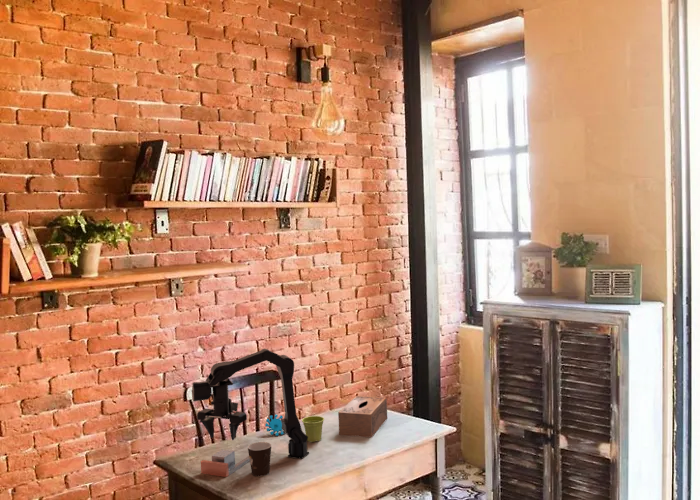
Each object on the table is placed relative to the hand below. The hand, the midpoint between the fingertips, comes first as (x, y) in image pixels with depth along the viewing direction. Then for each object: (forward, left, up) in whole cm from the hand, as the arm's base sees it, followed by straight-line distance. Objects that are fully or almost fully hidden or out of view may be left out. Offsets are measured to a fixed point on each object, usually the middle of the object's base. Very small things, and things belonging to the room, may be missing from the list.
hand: (222, 438), depth 246 cm
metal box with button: (0, 0, -12) cm, 12 cm away
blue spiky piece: (0, -41, -12) cm, 43 cm away
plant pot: (-19, -38, -12) cm, 44 cm away
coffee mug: (-16, +1, -12) cm, 20 cm away
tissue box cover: (-33, -60, -12) cm, 70 cm away
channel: (0, -3, -11) cm, 12 cm away
